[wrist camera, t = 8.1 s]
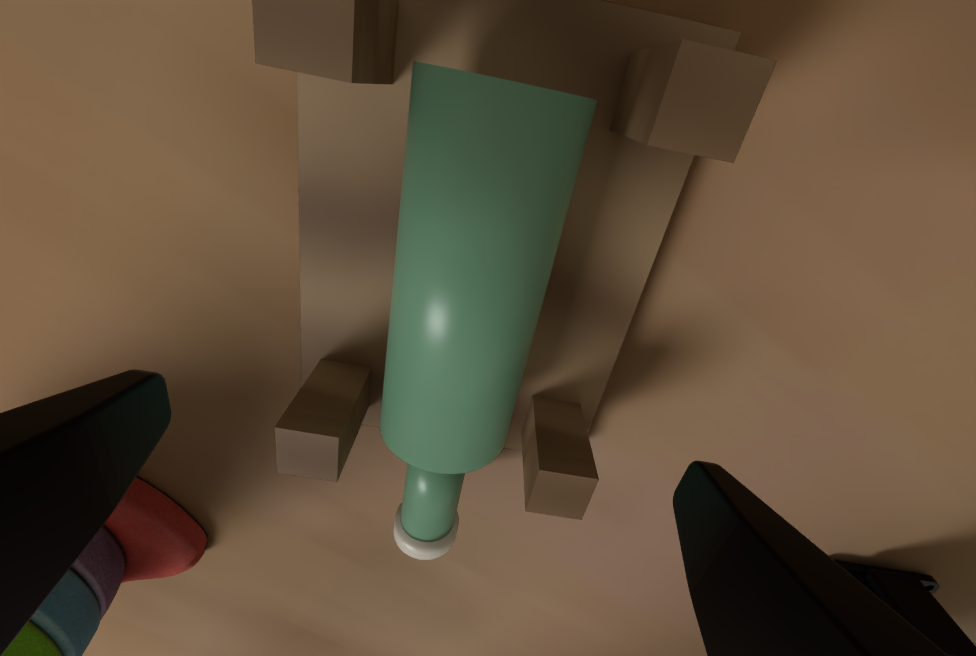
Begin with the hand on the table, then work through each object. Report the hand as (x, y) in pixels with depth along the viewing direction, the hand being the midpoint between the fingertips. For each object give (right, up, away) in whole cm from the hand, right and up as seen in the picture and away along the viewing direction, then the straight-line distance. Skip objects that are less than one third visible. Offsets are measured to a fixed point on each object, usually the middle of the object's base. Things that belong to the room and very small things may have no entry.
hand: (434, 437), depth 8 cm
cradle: (0, +5, +9) cm, 10 cm away
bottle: (0, +2, +9) cm, 9 cm away
